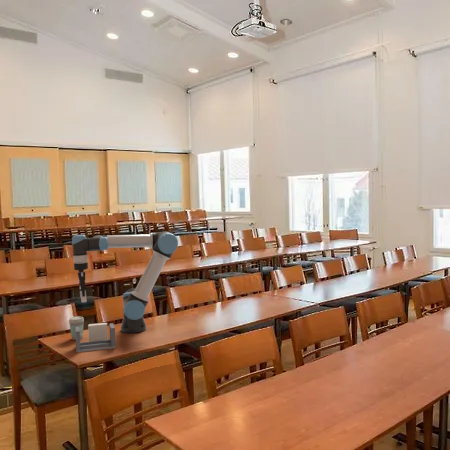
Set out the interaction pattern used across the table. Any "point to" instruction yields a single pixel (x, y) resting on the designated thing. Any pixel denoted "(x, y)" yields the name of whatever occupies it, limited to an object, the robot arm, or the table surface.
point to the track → (95, 342)
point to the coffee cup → (76, 322)
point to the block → (97, 332)
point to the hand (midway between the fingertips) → (83, 299)
